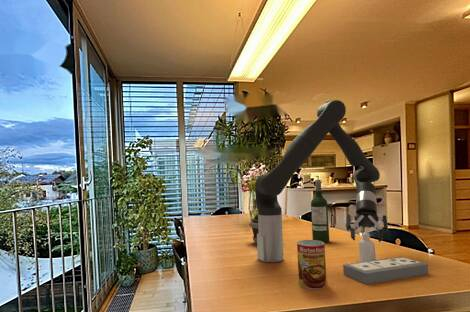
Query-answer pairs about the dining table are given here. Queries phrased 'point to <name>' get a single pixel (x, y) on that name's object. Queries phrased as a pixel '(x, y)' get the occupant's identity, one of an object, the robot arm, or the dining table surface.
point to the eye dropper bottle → (366, 248)
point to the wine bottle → (319, 215)
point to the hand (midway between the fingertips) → (366, 239)
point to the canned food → (311, 264)
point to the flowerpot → (255, 228)
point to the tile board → (385, 270)
